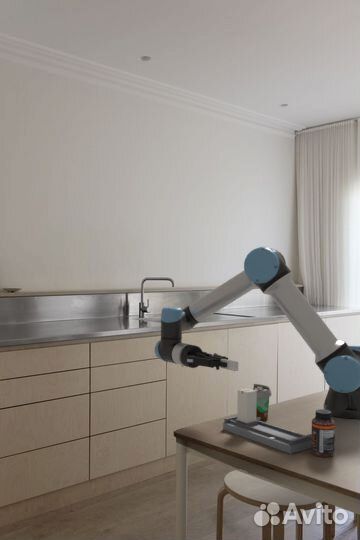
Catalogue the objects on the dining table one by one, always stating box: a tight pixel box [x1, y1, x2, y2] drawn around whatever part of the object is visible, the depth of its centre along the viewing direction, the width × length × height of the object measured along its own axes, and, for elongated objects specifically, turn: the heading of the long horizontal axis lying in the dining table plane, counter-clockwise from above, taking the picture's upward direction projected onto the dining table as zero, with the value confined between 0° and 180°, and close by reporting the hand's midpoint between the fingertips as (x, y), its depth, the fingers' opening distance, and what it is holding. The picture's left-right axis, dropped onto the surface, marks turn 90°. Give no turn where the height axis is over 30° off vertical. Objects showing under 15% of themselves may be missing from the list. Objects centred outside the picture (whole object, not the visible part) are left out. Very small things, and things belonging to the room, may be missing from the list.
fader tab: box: [235, 387, 259, 426], centre depth 158 cm, size 5×5×10 cm
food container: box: [252, 383, 273, 422], centre depth 171 cm, size 12×6×10 cm, turn 168°
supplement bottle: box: [310, 408, 336, 458], centre depth 139 cm, size 6×6×11 cm
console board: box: [222, 415, 312, 455], centre depth 152 cm, size 10×26×3 cm, turn 38°
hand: (236, 366), depth 161 cm, fingers closed
